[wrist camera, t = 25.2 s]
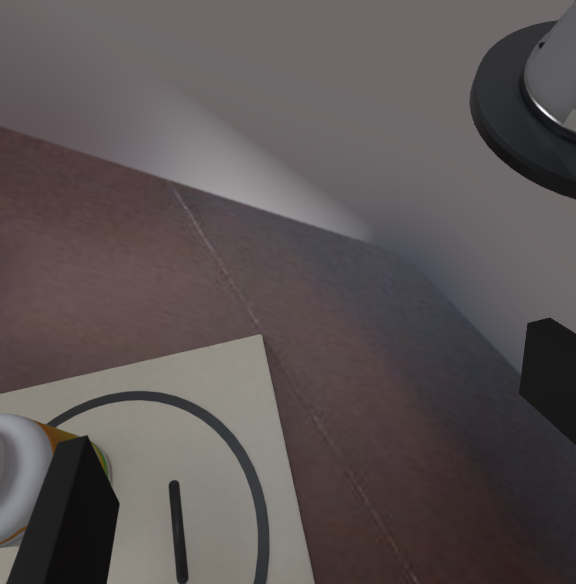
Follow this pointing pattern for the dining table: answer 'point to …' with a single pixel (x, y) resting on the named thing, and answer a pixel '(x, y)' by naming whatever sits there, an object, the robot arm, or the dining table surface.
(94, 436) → the face sheet
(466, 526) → the dining table surface
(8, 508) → the supplement bottle
